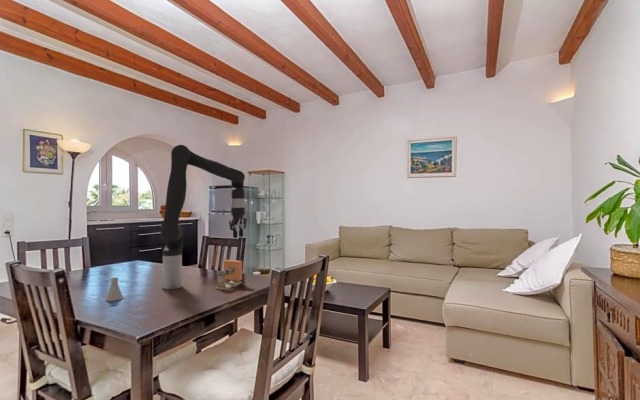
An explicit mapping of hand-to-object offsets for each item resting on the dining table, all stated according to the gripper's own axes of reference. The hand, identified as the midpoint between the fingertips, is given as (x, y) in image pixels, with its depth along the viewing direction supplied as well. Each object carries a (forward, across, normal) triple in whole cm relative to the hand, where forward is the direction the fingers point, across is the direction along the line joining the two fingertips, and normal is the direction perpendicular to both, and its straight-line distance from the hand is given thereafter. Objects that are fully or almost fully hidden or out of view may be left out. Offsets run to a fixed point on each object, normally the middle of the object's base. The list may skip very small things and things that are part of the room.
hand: (238, 237), depth 185 cm
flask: (+26, +46, -36) cm, 64 cm away
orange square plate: (+22, +5, 0) cm, 23 cm away
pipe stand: (+25, +8, 0) cm, 27 cm away
